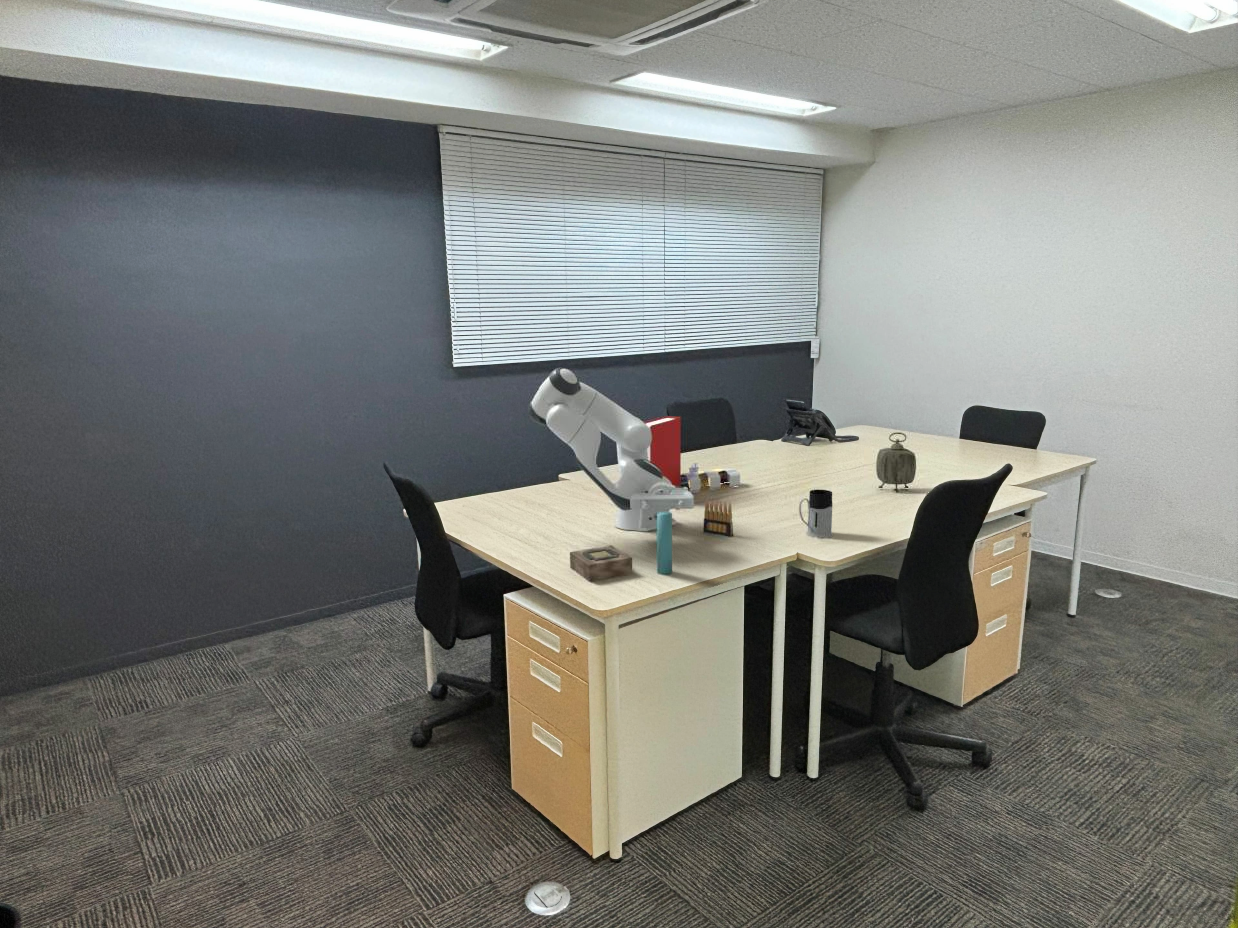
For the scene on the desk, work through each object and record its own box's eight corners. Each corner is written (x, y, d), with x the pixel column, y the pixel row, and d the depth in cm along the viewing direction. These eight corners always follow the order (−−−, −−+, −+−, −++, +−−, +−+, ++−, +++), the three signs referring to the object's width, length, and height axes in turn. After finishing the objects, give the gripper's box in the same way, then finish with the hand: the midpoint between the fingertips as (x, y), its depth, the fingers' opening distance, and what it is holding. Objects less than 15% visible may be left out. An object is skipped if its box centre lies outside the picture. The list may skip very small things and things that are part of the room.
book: (651, 504, 309) (651, 425, 303) (634, 501, 313) (633, 424, 307) (682, 490, 332) (682, 416, 326) (665, 488, 336) (665, 415, 330)
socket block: (611, 560, 240) (611, 544, 239) (632, 573, 228) (632, 556, 227) (570, 567, 234) (569, 551, 233) (589, 581, 222) (589, 564, 221)
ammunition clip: (733, 535, 264) (733, 501, 262) (730, 537, 263) (731, 502, 261) (705, 531, 270) (705, 498, 268) (703, 532, 269) (703, 499, 267)
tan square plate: (604, 553, 234) (604, 550, 233) (612, 558, 229) (612, 555, 229) (588, 556, 231) (588, 553, 231) (596, 561, 226) (596, 558, 226)
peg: (667, 568, 231) (667, 510, 228) (674, 573, 228) (674, 514, 224) (654, 571, 230) (654, 512, 226) (662, 575, 226) (661, 516, 222)
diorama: (689, 494, 326) (690, 464, 323) (678, 489, 335) (678, 460, 332) (739, 488, 336) (740, 458, 333) (726, 483, 345) (727, 455, 342)
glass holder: (838, 535, 263) (839, 492, 260) (808, 542, 255) (809, 498, 252) (818, 529, 270) (820, 487, 267) (789, 536, 263) (790, 493, 260)
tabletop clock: (909, 488, 328) (913, 430, 323) (915, 493, 319) (919, 434, 314) (874, 488, 330) (877, 430, 325) (879, 493, 321) (882, 434, 316)
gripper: (629, 487, 250) (628, 497, 237) (692, 487, 250) (695, 497, 236) (629, 506, 252) (629, 517, 238) (692, 506, 251) (695, 517, 238)
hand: (662, 507), depth 237 cm, fingers open, 8 cm apart
